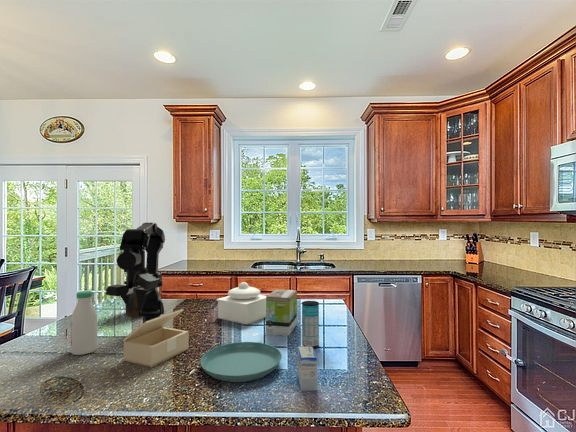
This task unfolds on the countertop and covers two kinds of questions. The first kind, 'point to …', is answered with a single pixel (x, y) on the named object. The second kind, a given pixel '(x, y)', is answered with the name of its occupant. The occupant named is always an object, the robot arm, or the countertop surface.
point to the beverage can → (310, 324)
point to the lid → (153, 324)
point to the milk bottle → (84, 325)
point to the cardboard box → (156, 346)
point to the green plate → (241, 361)
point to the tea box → (281, 312)
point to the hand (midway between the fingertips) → (135, 311)
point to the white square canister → (242, 305)
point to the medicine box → (307, 369)
